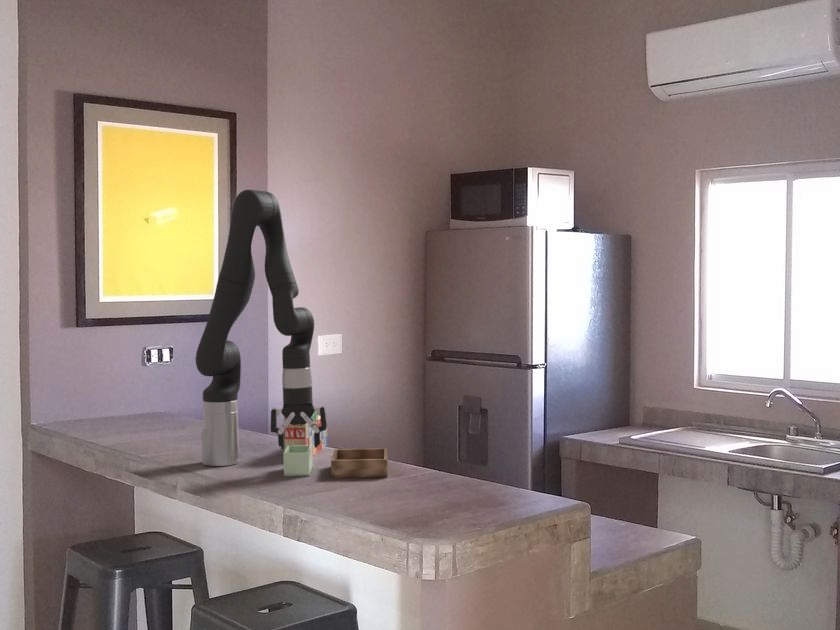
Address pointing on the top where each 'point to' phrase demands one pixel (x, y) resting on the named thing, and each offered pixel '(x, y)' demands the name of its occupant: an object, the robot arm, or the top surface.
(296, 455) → the small crate
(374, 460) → the big crate
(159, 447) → the top surface
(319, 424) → the stack of blocks
